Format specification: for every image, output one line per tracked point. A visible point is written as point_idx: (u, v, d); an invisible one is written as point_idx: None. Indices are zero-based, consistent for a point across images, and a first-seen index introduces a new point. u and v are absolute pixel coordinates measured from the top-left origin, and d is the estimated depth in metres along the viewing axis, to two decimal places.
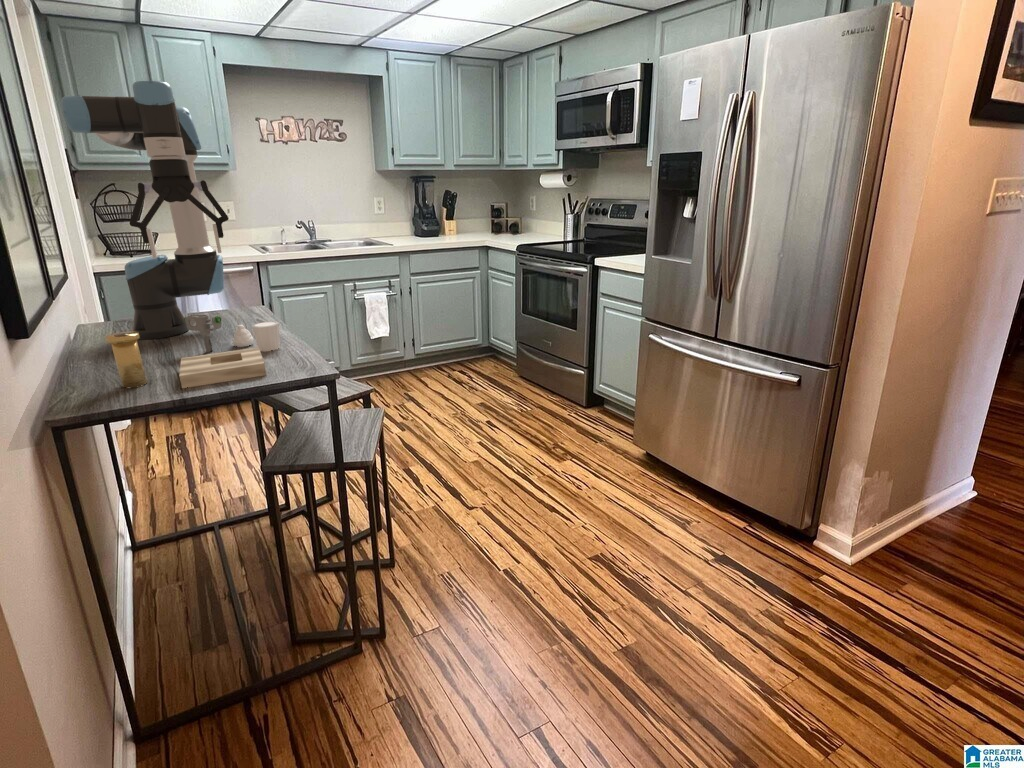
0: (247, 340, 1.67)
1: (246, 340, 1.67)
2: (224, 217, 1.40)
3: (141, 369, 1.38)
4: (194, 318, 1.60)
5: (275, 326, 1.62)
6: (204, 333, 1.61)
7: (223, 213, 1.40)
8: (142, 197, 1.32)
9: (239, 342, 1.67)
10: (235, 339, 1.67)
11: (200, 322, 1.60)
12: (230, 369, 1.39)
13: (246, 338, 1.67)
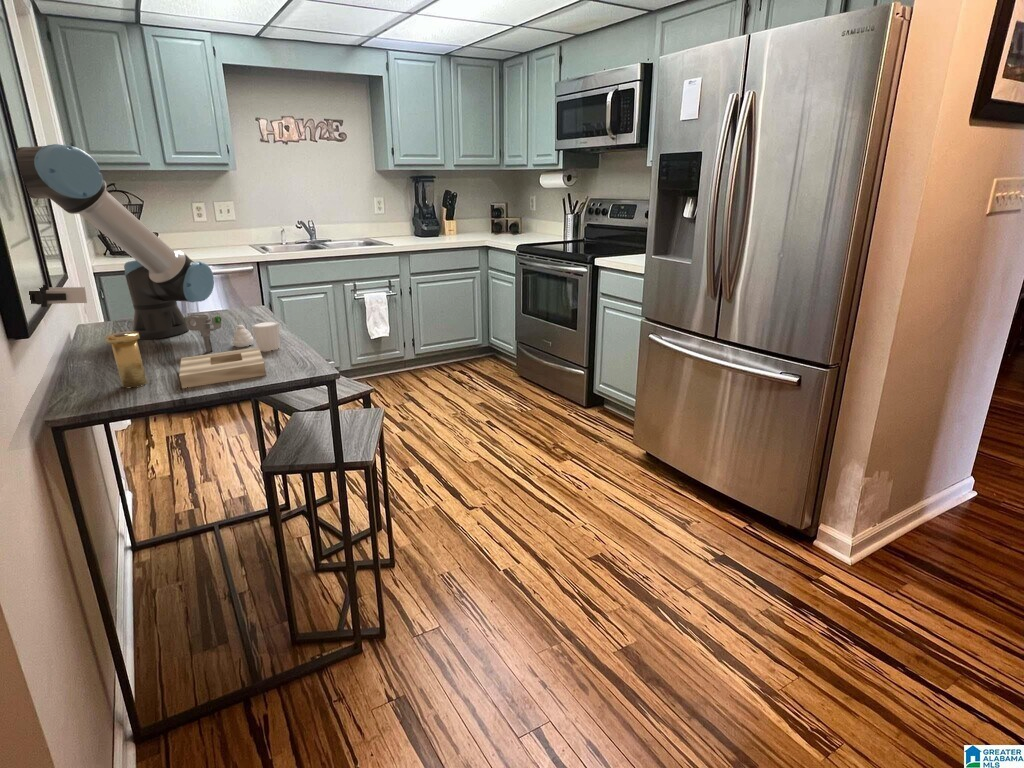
0: (247, 340, 1.67)
1: (246, 340, 1.67)
2: None
3: (141, 369, 1.38)
4: (194, 318, 1.60)
5: (275, 326, 1.62)
6: (204, 333, 1.61)
7: (32, 303, 1.18)
8: None
9: (239, 342, 1.67)
10: (235, 339, 1.67)
11: (200, 322, 1.60)
12: (230, 369, 1.39)
13: (246, 338, 1.67)
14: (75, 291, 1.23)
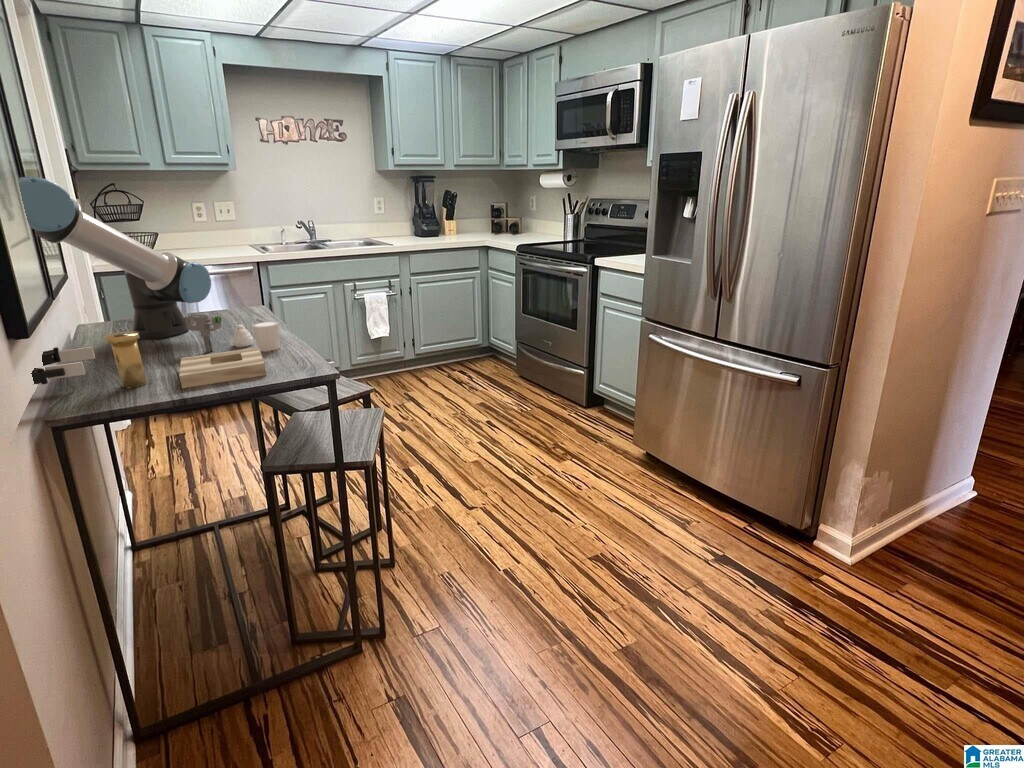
0: (246, 340, 1.67)
1: (245, 340, 1.67)
2: None
3: (141, 369, 1.37)
4: (194, 318, 1.60)
5: (275, 326, 1.62)
6: (204, 333, 1.61)
7: None
8: None
9: (239, 342, 1.67)
10: (235, 339, 1.67)
11: (200, 322, 1.60)
12: (230, 369, 1.39)
13: (246, 338, 1.67)
14: (72, 365, 1.26)
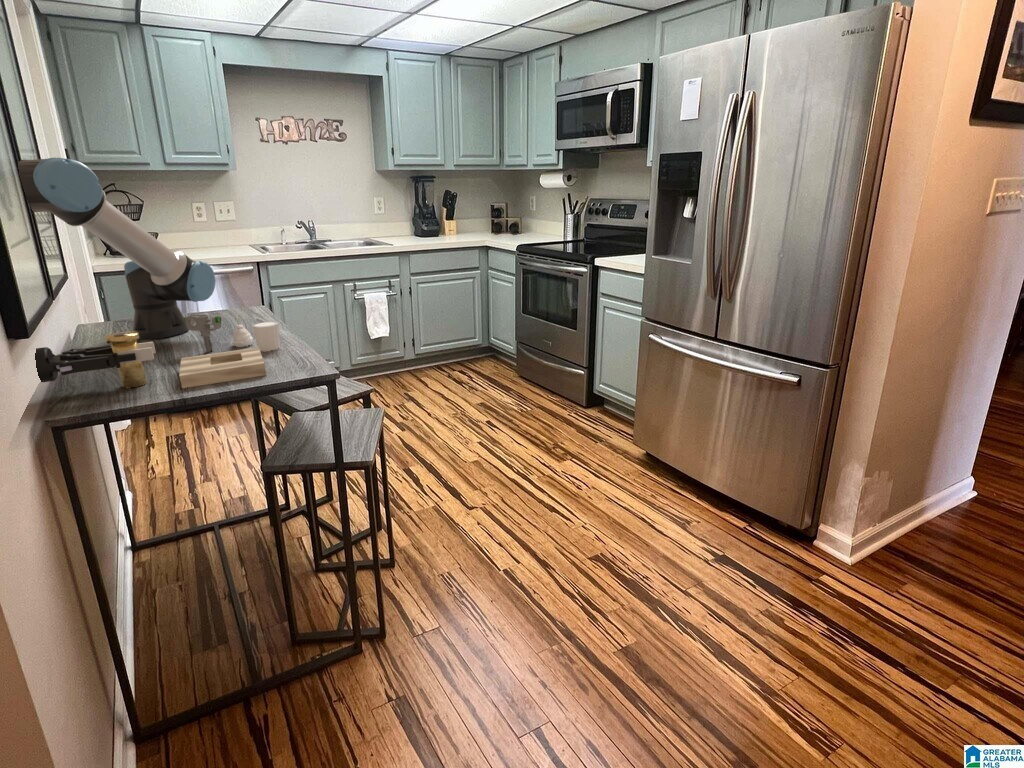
0: (246, 340, 1.67)
1: (245, 340, 1.67)
2: None
3: (141, 369, 1.37)
4: (194, 318, 1.60)
5: (275, 326, 1.62)
6: (204, 333, 1.61)
7: None
8: None
9: (238, 342, 1.67)
10: (234, 339, 1.67)
11: (200, 322, 1.60)
12: (230, 369, 1.39)
13: (245, 338, 1.67)
14: (142, 350, 1.35)
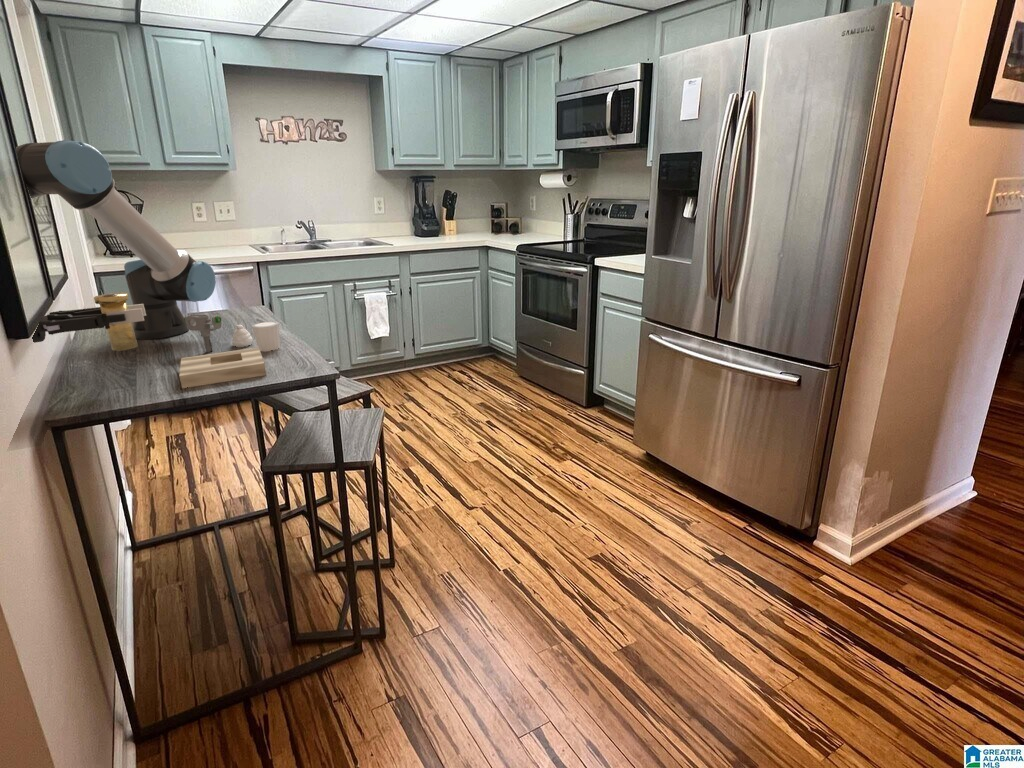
0: (246, 340, 1.67)
1: (245, 340, 1.67)
2: None
3: (131, 331, 1.34)
4: (194, 318, 1.60)
5: (275, 326, 1.62)
6: (204, 333, 1.61)
7: None
8: None
9: (238, 342, 1.67)
10: (234, 339, 1.67)
11: (200, 322, 1.60)
12: (230, 369, 1.39)
13: (245, 338, 1.67)
14: (132, 311, 1.32)
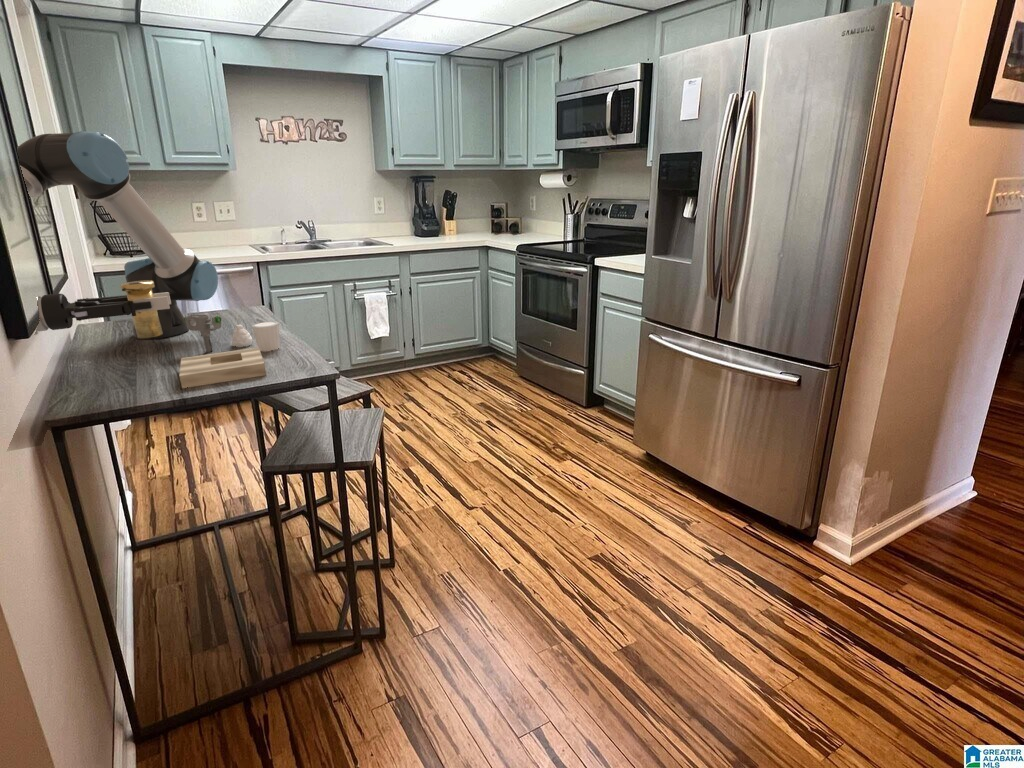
0: (245, 340, 1.67)
1: (245, 340, 1.67)
2: None
3: (156, 319, 1.35)
4: (194, 318, 1.60)
5: (275, 326, 1.62)
6: (204, 333, 1.61)
7: None
8: None
9: (238, 342, 1.67)
10: (234, 339, 1.67)
11: (200, 322, 1.60)
12: (230, 369, 1.39)
13: (245, 338, 1.67)
14: (158, 298, 1.32)
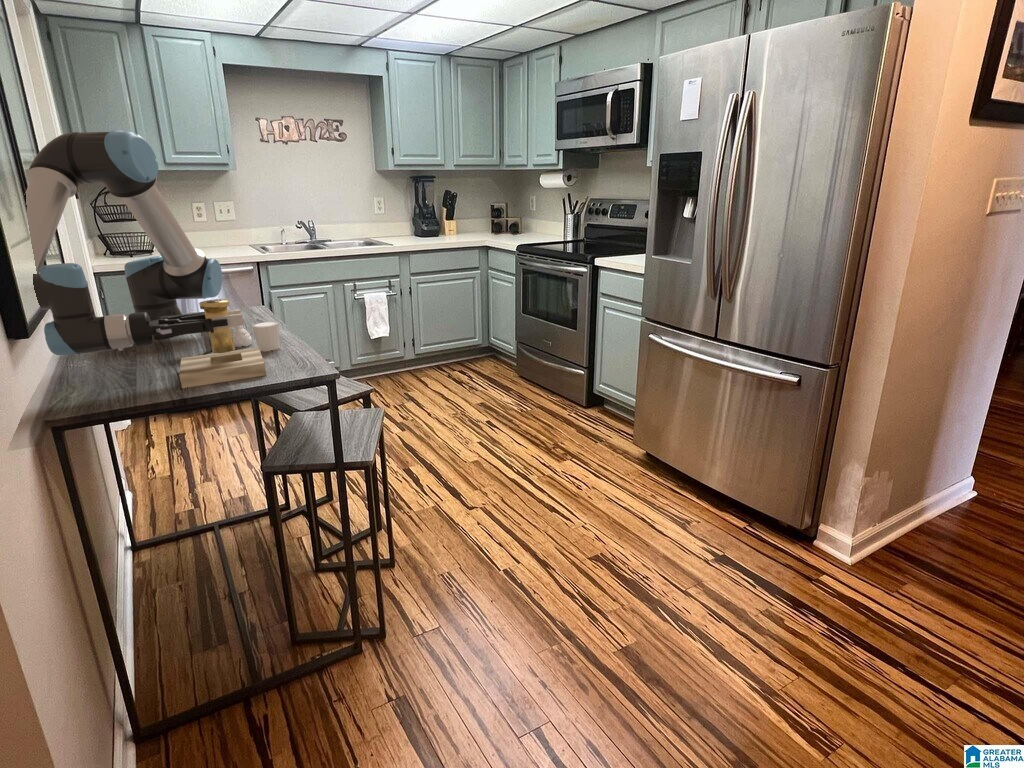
0: (245, 340, 1.67)
1: (244, 340, 1.67)
2: None
3: (230, 335, 1.44)
4: None
5: (275, 326, 1.62)
6: (204, 333, 1.61)
7: (202, 331, 1.37)
8: None
9: (237, 342, 1.67)
10: (233, 339, 1.67)
11: None
12: (230, 369, 1.39)
13: (244, 338, 1.67)
14: (234, 316, 1.41)
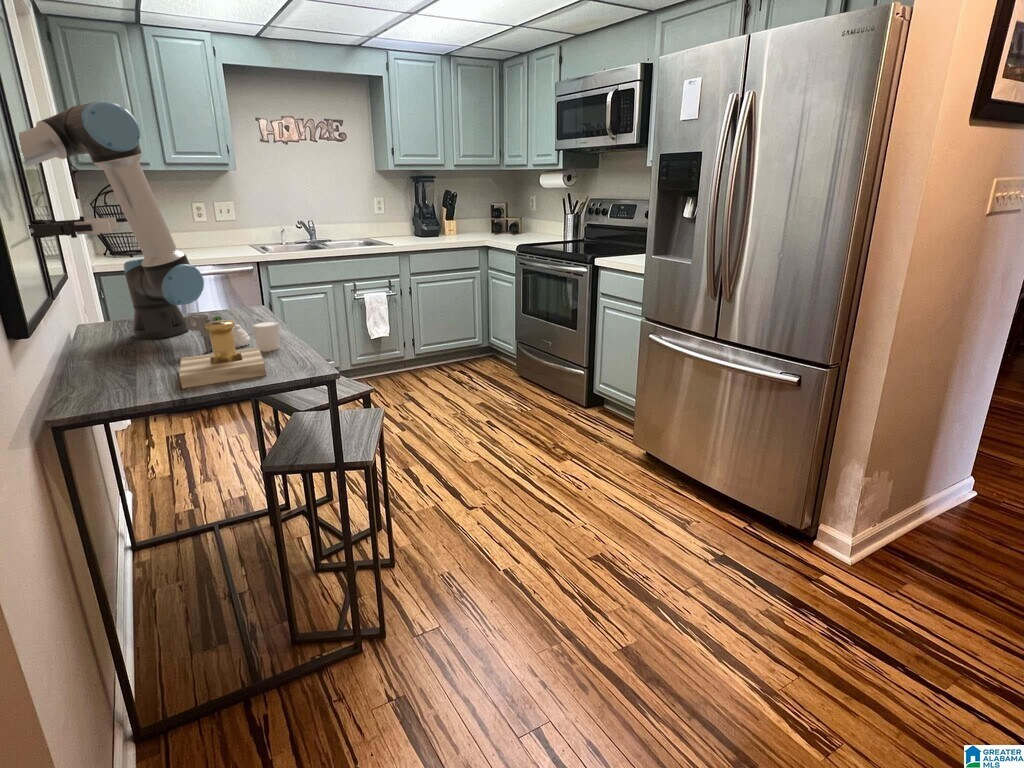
0: (243, 340, 1.67)
1: (242, 340, 1.67)
2: None
3: (235, 356, 1.46)
4: (194, 318, 1.60)
5: (275, 326, 1.62)
6: (204, 333, 1.61)
7: None
8: None
9: (236, 342, 1.67)
10: None
11: (200, 322, 1.60)
12: (230, 369, 1.39)
13: (243, 338, 1.67)
14: (99, 222, 1.37)
